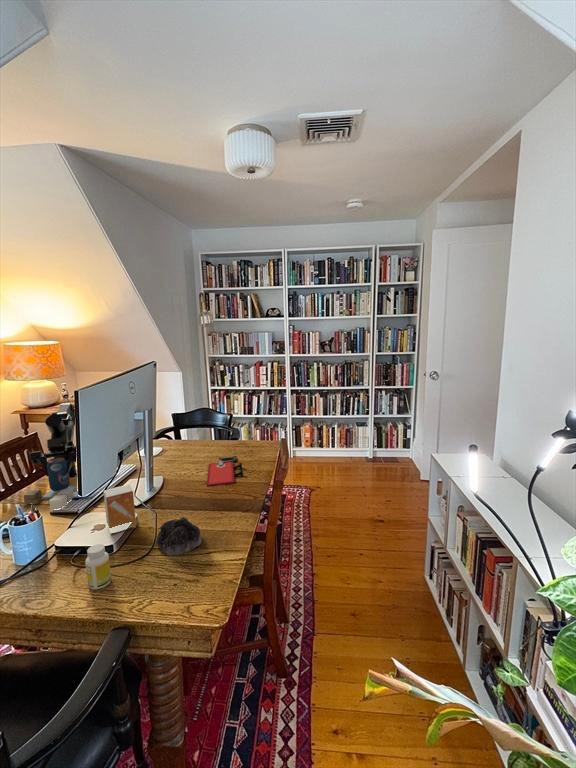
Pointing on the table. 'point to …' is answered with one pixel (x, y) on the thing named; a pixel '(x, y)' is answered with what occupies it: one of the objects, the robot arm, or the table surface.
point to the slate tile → (54, 493)
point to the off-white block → (58, 501)
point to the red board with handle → (223, 472)
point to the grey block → (67, 493)
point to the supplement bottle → (98, 567)
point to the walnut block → (32, 496)
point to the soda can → (58, 474)
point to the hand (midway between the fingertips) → (57, 474)
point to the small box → (119, 506)
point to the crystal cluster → (178, 537)
